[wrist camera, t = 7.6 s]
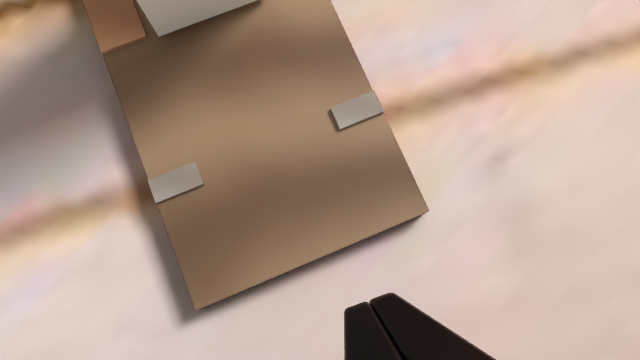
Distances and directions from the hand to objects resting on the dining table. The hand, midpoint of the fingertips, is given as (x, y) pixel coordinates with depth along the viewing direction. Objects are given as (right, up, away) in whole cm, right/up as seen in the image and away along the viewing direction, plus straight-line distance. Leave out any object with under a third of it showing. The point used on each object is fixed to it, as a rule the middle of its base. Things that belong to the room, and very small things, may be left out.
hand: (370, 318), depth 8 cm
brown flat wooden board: (-4, +7, +14) cm, 16 cm away
